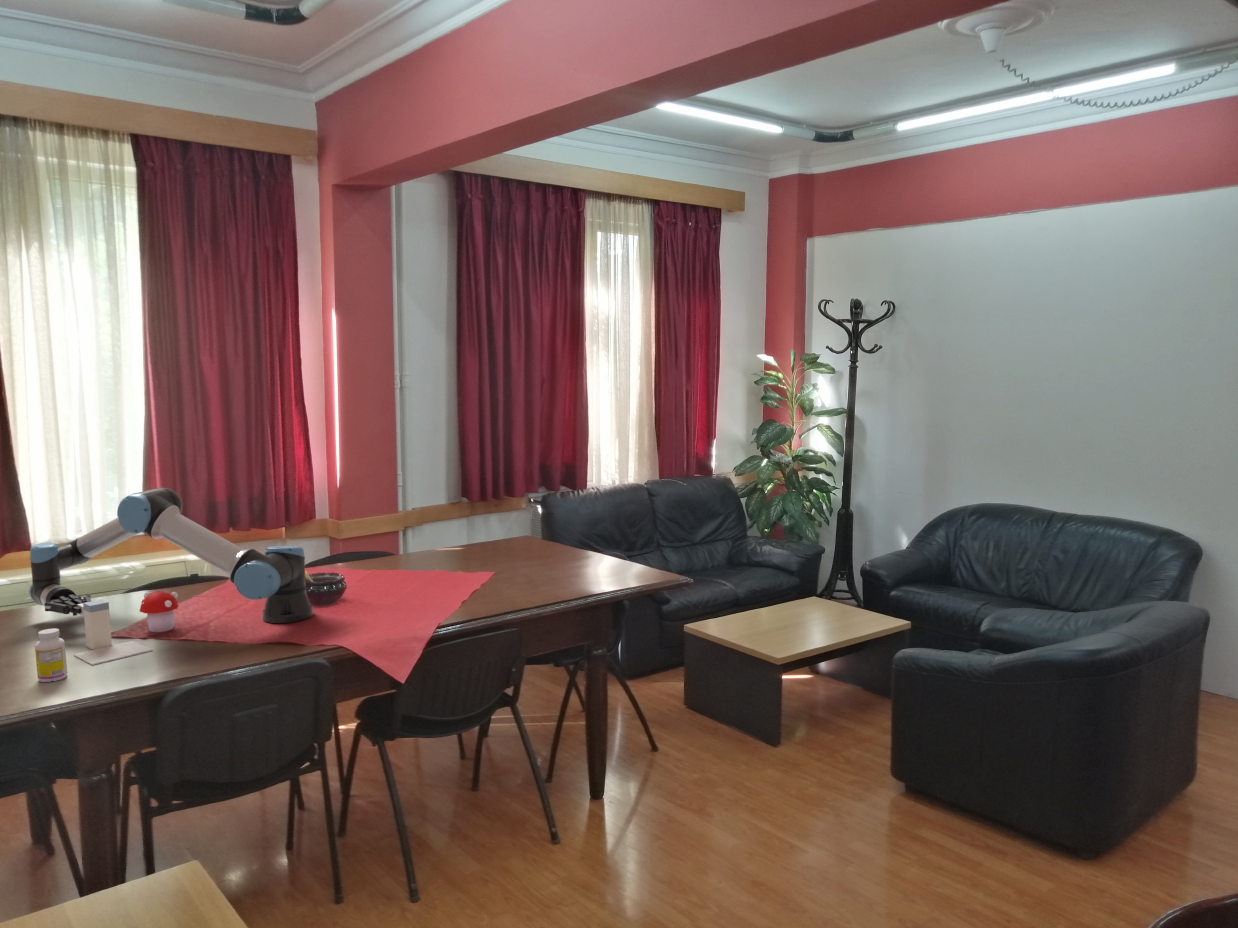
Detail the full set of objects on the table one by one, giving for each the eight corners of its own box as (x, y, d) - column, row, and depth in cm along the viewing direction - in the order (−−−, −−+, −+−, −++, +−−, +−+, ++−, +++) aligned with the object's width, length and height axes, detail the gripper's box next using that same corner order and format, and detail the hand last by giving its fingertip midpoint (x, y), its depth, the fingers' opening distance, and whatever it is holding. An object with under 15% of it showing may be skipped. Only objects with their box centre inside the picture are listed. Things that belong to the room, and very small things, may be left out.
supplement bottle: (46, 674, 245) (42, 627, 244) (72, 673, 246) (68, 626, 244) (32, 683, 238) (28, 635, 237) (59, 682, 239) (55, 634, 237)
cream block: (111, 645, 269) (108, 602, 267) (93, 650, 265) (89, 605, 264) (104, 642, 272) (101, 599, 271) (86, 646, 268) (83, 602, 267)
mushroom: (188, 625, 288) (186, 588, 287) (160, 635, 278) (158, 596, 277) (161, 622, 292) (159, 585, 290) (133, 632, 281) (130, 594, 280)
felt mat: (152, 650, 264) (152, 649, 264) (92, 665, 252) (91, 663, 252) (133, 641, 272) (133, 640, 272) (73, 655, 260) (73, 654, 260)
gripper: (82, 605, 291) (113, 619, 276) (36, 615, 281) (65, 629, 266) (80, 582, 290) (111, 594, 275) (34, 590, 280) (63, 604, 265)
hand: (88, 611), depth 271 cm, fingers closed
